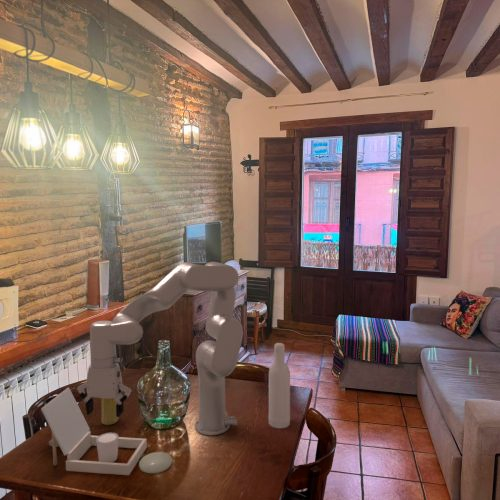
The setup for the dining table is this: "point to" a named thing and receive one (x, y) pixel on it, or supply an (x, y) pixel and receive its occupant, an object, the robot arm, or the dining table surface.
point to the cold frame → (83, 438)
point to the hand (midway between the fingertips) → (104, 413)
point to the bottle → (279, 390)
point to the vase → (109, 411)
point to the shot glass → (107, 447)
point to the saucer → (155, 462)
